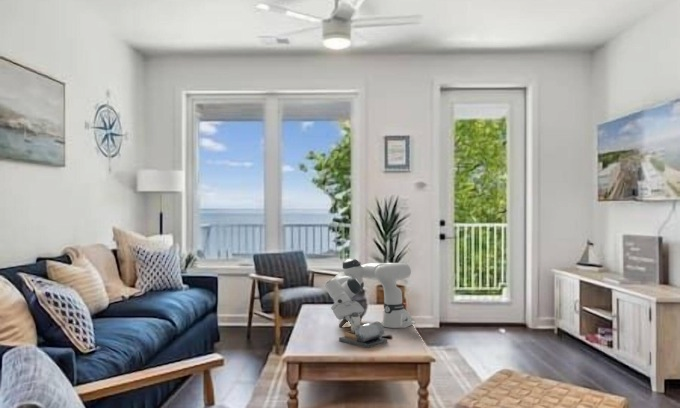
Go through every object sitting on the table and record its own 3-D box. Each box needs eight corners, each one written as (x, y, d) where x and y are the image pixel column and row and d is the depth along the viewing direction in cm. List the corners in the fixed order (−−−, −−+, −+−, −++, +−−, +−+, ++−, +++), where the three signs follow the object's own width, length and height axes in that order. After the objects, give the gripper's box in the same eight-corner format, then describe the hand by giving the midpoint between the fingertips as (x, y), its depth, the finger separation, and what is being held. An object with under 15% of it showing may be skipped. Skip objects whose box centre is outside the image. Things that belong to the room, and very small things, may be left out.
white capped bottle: (355, 330, 333) (355, 311, 333) (361, 332, 330) (361, 312, 330) (349, 332, 330) (349, 312, 330) (355, 333, 326) (355, 314, 326)
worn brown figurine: (356, 328, 368) (361, 300, 368) (357, 330, 362) (363, 302, 363) (338, 325, 366) (343, 297, 366) (339, 327, 360) (345, 299, 361)
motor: (360, 335, 341) (360, 316, 341) (389, 341, 326) (389, 322, 325) (339, 341, 328) (338, 321, 328) (368, 348, 313) (368, 327, 313)
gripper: (353, 303, 345) (365, 322, 338) (328, 308, 330) (341, 328, 324) (358, 296, 342) (371, 315, 335) (334, 301, 327) (346, 321, 320)
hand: (356, 322), depth 329 cm, fingers closed on white capped bottle, 5 cm apart
